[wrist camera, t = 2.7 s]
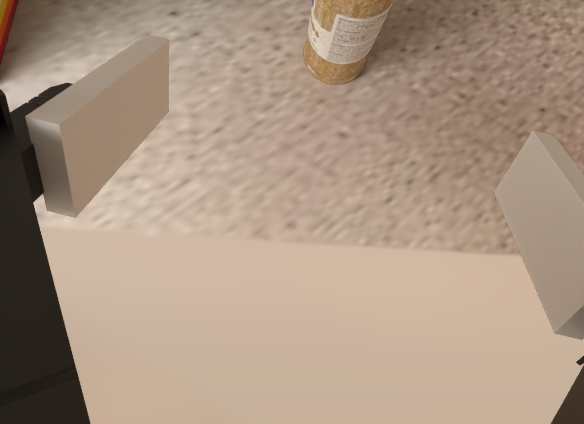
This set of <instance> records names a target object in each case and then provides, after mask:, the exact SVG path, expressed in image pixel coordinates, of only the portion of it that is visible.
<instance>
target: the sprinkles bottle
mask: <svg viewBox="0 0 584 424" xmlns="http://www.w3.org/2000/svg"><path fill="white" fill-rule="evenodd" d="M393 2H394V0H313V1H312V7H311V14H310V20H309V25H308V38H307V40H306V43H305V46H304V61H305V63H306V66H307V68H308V70H309V72H310V73H311V74H312V75H313V76H314V77H315V78H317V79H318V80H320V81H322V82H324V83H327V84H330V85H336V84H344V83H347V82H349V81H351V80H353V79H354V78H355V77H356V76H357V75H358V74H359V73H360V72H361V70H362V68H363V67H364V64H365V59H366V56H367V54H368V52H369V51H370V49H371V48H372V46H373V44H374V42H375V40H376V38H377V35H378V33H379V31H380V29H381V27H382V25H383V23H384V21H385V19H386V17H387V15H388V12H389V10H390V8H391V6H392V4H393Z"/></svg>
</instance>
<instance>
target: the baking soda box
mask: <svg viewBox="0 0 584 424" xmlns="http://www.w3.org/2000/svg"><path fill="white" fill-rule="evenodd" d="M17 4H18V0H0V64H1V61H2V57H3V54H4V50H5V46H6V43H7V39H8V36H9V32H10V29H11V25H12V21H13V18H14V14H15V11H16V7H17Z"/></svg>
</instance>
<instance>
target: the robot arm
mask: <svg viewBox="0 0 584 424" xmlns="http://www.w3.org/2000/svg"><path fill="white" fill-rule="evenodd" d="M168 112H169V40H168V39H164V38H160V37H156V36H151V35H146V36H145V37H143V38H142V39H140V40H139V41H137V42H136V43H134V44H133V45H131V46H130V47H128V48H127V49H125V50H124V51H122V52H121V53H119V54H118V55H116V56H115V57H113V58H112V59H110V60H109V61H107V62H106V63H104V64H103V65H101V66H100V67H98V68H97V69H95V70H94V71H92V72H91V73H89V74H88V75H86V76H85V77H83V78H82V79H80V80H79V81H77V82H76V83H74V84H71V83H64V84H61V85H57V86H54V87H50V88H49V89H47V90H45V91H44V92H42V93H41V94H39V95H38V97H34V98H33V99H31V100H29V102H28V103H25V104H23V105H22V106H20V107H18V108H17V109H15V110H14V111H12V112H9V108H8V104H7V100H6V96H5V94H4V93H3V91H2V90H0V424H90V420H89V416H88V413H87V408H86V405H85V401H84V397H83V393H82V389H81V385H80V381H79V378H78V374H77V370H76V367H75V363H74V359H73V355H72V351H71V347H70V343H69V339H68V336H67V332H66V328H65V324H64V320H63V317H62V313H61V309H60V305H59V301H58V297H57V293H56V289H55V286H54V282H53V278H52V274H51V270H50V266H49V262H48V258H47V255H46V251H45V247H44V243H43V239H42V235H41V231H40V228H39V224H38V220H37V216H36V212H35V208H34V204H33V202H34V201H35V200H36V199H37V198H38V197H40V196H41V195H42V194H43V195H44V200H45V204H46V208H47V211H50V212H54V213H58V214H62V215H67V216H71V217H75V218H76V217H77V216H78V214H79V213H80V212H81V211H82V210H83V209H84V208H85V206H86V205H87V204H88V203H89V202H90V201H91V200H92V198H93V197H94V196H95V195H96V194H97V193H98V192H99V191H100V189H101V188H102V187H103V186H104V185H105V184H106V183H107V181H108V180H109V179H110V178H111V177H112V176H113V175H114V173H115V172H116V171H117V170H118V169H119V168H120V167H121V166H122V164H123V163H124V162H125V161H126V160H127V159H128V158H129V156H130V155H131V154H132V153H133V152H134V151H135V150H136V148H137V147H138V146H139V145H140V144H141V143H142V142H143V141H144V139H145V138H146V137H147V136H148V135H149V134H150V133H151V131H152V130H153V129H154V128H155V127H156V126H157V125H158V124H159V122H160V121H161V120H162V119H163V118H164V117H165V116H166V114H167V113H168ZM494 194H495V196H496V198H497V201H498V203H499V205H500V208H501V210H502V212H503V215H504V217H505V219H506V222H507V224H508V226H509V228H510V231H511V233H512V235H513V238H514V240H515V242H516V245H517V247H518V249H519V252H520V254H521V256H522V259H523V261H524V263H525V266H526V268H527V270H528V273H529V275H530V277H531V280H532V282H533V284H534V286H535V289H536V291H537V293H538V296H539V298H540V300H541V303H542V305H543V307H544V310H545V312H546V314H547V317H548V319H549V321H550V324H551V326H552V328H553V330H554V333H556V334H560V335H564V336H568V337H573V338H577V339H581V340H582V339H584V174H583V173H582V171H581V170H580V169H579V168H578V166H577V165H576V164H575V162H574V161H573V160H572V159H571V157H570V156H569V155H568V153H567V152H566V151H565V149H564V148H563V147H562V146H561V144H560V143H559V142H558V140H557V139H556V138H555V137H554V136H553V135H549V134H545V133H541V132H537V131H532V132H531V134H530V136H529V137H528V139H527V140H526V142H525V143H524V145H523V147H522V148H521V150H520V151H519V153H518V155H517V156H516V158H515V159H514V161H513V162H512V164H511V166H510V167H509V169H508V170H507V172H506V173H505V175H504V177H503V178H502V180H501V181H500V183H499V184H498V186H497V188H496V189H495V191H494ZM576 363H577V364H579V365H582V364H583V363H584V356H583V357H582V358H581V359H580V360H578V361H577V362H576ZM551 424H584V366H583V368H582V369H581V371H580V373H579V375H578V376H577V378H576V380H575V382H574V384H573V385H572V387H571V389H570V391H569V392H568V394H567V396H566V398H565V400H564V402H563V403H562V405H561V407H560V408H559V410H558V412H557V414H556V415H555V417H554V419H553V421H552V423H551Z"/></svg>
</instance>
